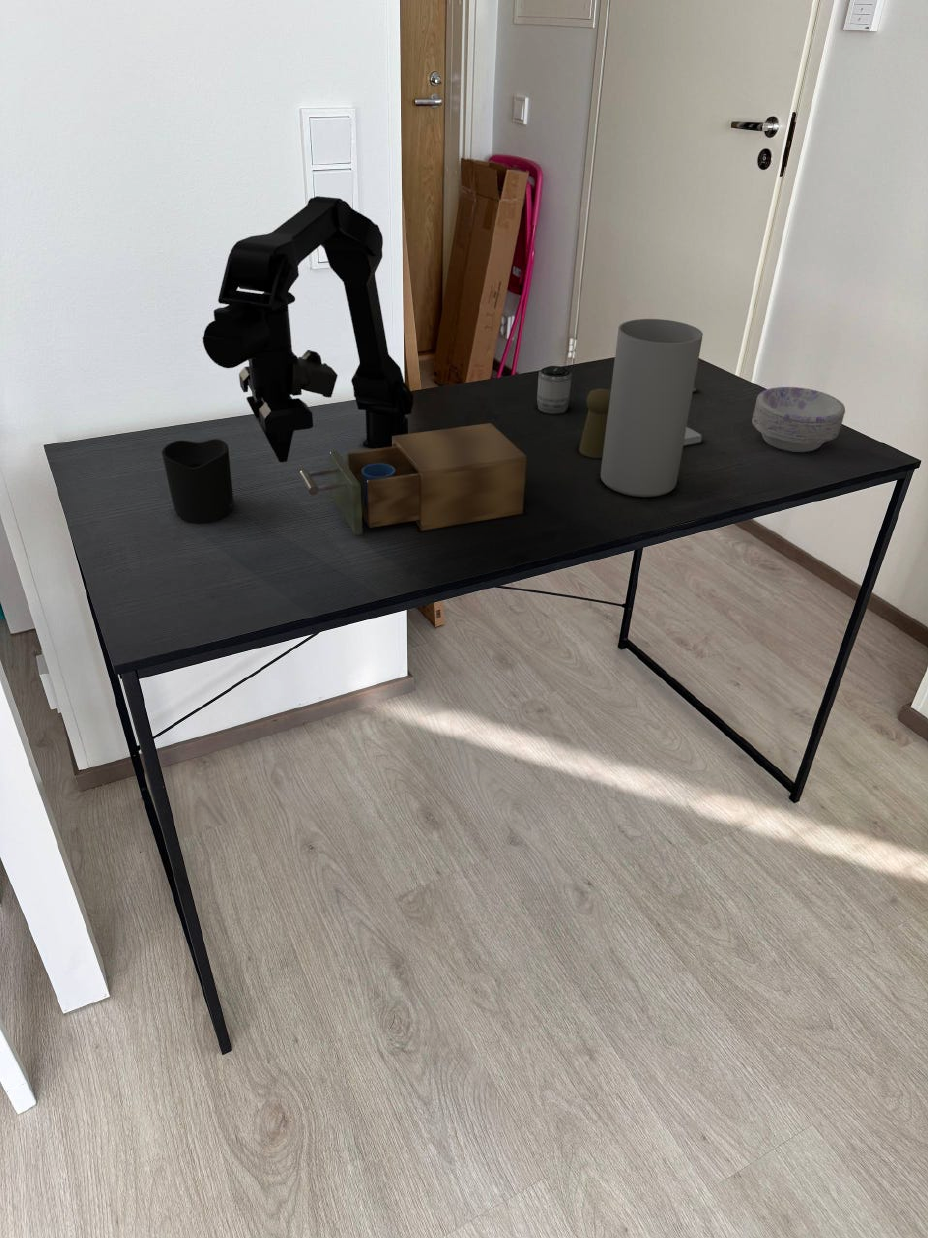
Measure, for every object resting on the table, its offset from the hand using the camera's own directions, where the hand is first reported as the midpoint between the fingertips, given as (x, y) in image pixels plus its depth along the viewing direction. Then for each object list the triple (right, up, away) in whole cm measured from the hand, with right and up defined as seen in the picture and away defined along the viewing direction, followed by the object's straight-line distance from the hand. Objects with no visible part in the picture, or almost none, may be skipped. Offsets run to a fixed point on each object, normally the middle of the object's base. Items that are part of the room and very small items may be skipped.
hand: (279, 455), depth 126 cm
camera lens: (+43, +18, +50) cm, 68 cm away
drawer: (+12, -6, +11) cm, 17 cm away
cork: (+49, +7, +33) cm, 60 cm away
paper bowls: (+86, +9, +39) cm, 95 cm away
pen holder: (-14, -7, +11) cm, 19 cm away
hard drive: (+62, +10, +38) cm, 73 cm away
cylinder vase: (+55, 0, +23) cm, 59 cm away
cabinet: (+25, -5, +15) cm, 30 cm away
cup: (+13, -5, +10) cm, 17 cm away
